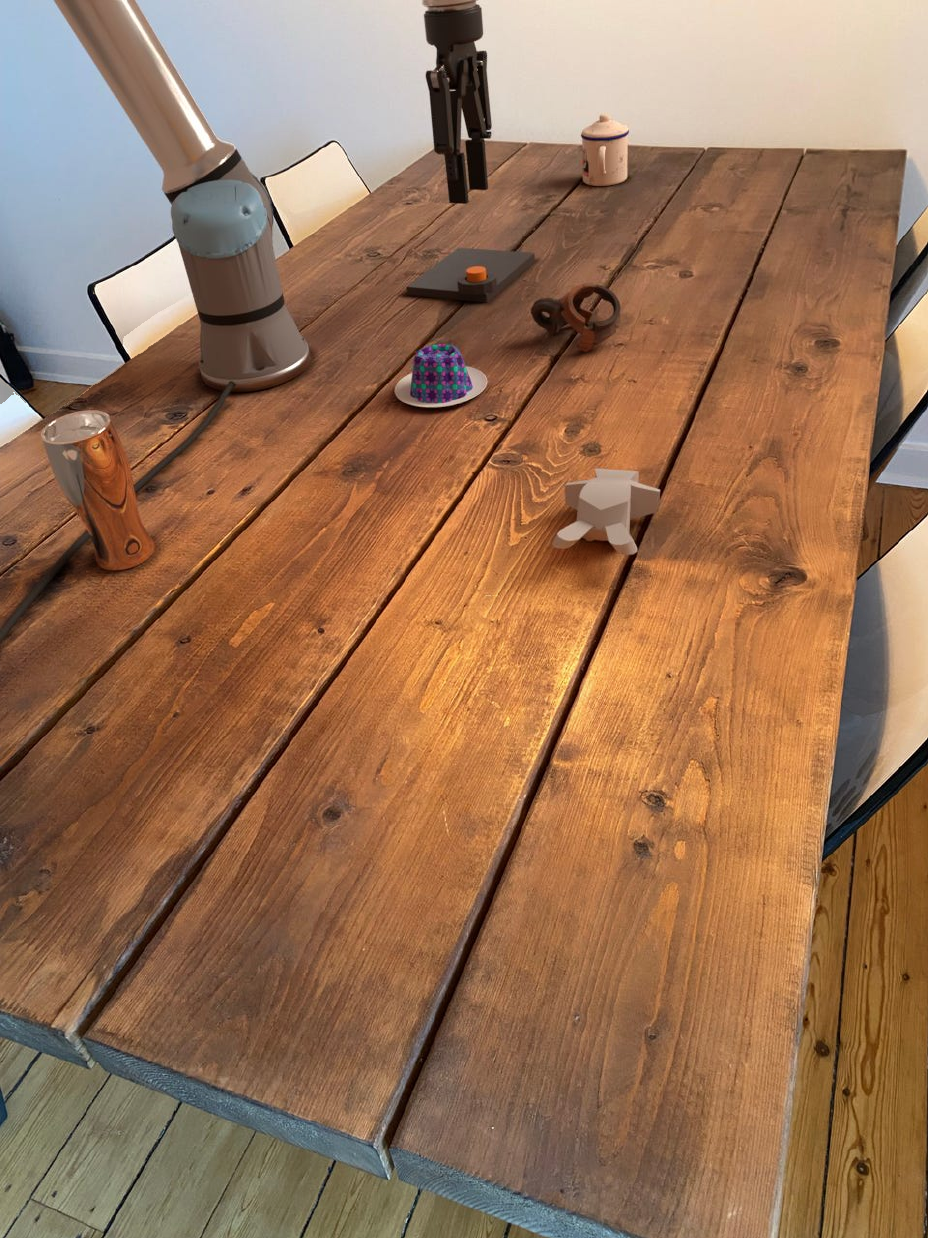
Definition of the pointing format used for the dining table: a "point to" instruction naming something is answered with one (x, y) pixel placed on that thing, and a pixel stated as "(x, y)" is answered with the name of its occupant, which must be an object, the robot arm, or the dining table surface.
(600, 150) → the teacup with lid
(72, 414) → the beer glass
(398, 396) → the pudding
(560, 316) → the rusty split ring clamp
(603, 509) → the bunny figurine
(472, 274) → the button
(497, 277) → the scale
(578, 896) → the dining table surface
